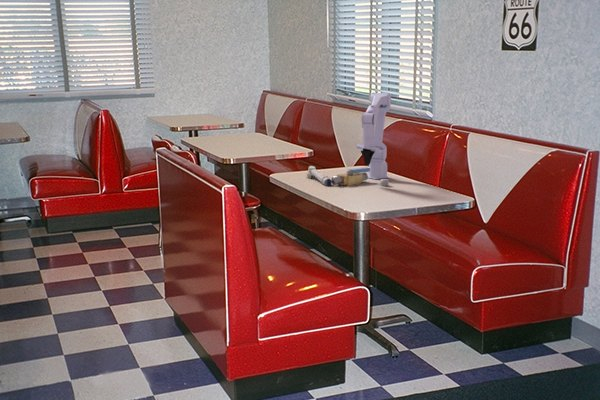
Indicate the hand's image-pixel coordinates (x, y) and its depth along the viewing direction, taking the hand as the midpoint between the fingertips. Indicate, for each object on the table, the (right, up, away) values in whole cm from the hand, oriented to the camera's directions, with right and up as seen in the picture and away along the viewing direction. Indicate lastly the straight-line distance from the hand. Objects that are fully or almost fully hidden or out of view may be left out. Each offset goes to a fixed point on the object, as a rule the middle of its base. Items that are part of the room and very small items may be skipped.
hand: (367, 164), depth 366 cm
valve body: (-9, -9, +3) cm, 13 cm away
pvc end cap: (+8, -11, 0) cm, 13 cm away
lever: (-4, -4, +5) cm, 8 cm away
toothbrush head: (-24, -8, +8) cm, 27 cm away
